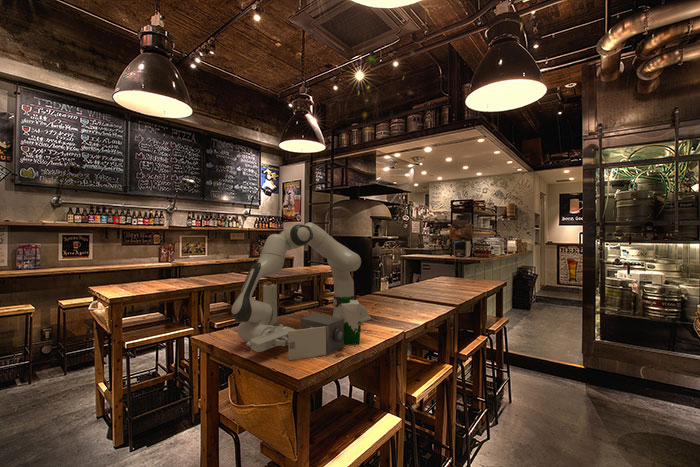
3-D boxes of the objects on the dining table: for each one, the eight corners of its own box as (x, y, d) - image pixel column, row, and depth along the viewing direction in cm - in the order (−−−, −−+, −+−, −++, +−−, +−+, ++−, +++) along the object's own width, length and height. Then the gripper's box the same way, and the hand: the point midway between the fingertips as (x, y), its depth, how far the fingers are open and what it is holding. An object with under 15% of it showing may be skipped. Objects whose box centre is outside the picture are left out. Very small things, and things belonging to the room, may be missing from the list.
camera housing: (300, 346, 136) (299, 318, 136) (316, 339, 144) (316, 313, 144) (331, 355, 125) (330, 325, 125) (347, 347, 133) (347, 319, 133)
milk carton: (340, 339, 144) (339, 295, 144) (359, 338, 145) (358, 295, 145) (341, 345, 135) (340, 299, 135) (361, 345, 136) (361, 299, 136)
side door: (289, 360, 120) (288, 331, 120) (288, 359, 121) (288, 330, 121) (329, 354, 125) (328, 326, 125) (328, 353, 126) (328, 325, 126)
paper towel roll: (263, 326, 166) (263, 286, 165) (263, 323, 171) (263, 284, 171) (277, 325, 167) (277, 285, 167) (277, 321, 173) (276, 283, 173)
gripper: (243, 335, 123) (265, 342, 115) (283, 323, 139) (305, 328, 131) (243, 351, 123) (265, 360, 115) (284, 337, 139) (305, 343, 131)
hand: (287, 343), depth 123 cm, fingers closed
